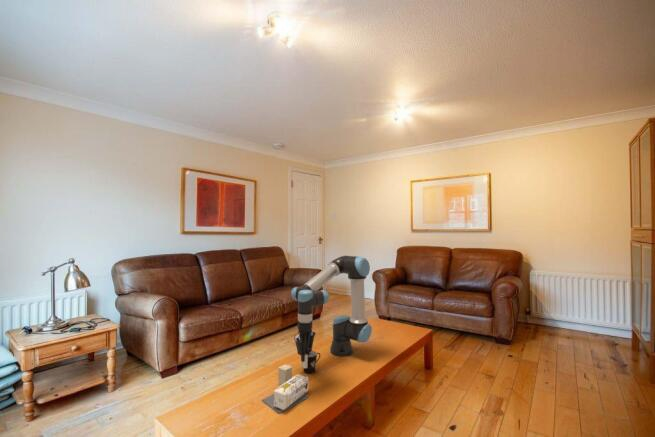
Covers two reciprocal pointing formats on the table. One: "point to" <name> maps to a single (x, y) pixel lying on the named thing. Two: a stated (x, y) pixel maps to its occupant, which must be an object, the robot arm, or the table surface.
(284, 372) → the sandstone block
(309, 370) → the coffee mug
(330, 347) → the robot arm
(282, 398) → the juice carton
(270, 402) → the mat
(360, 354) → the table surface
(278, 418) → the table surface
